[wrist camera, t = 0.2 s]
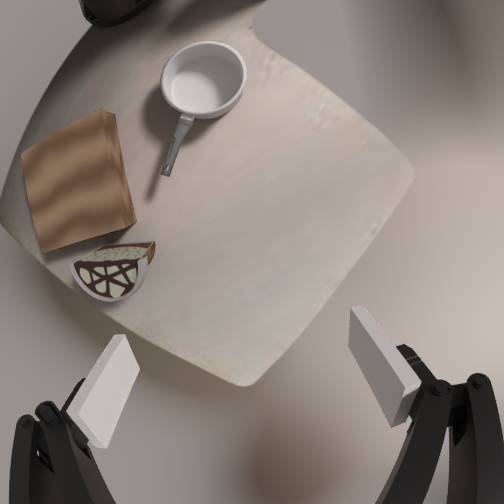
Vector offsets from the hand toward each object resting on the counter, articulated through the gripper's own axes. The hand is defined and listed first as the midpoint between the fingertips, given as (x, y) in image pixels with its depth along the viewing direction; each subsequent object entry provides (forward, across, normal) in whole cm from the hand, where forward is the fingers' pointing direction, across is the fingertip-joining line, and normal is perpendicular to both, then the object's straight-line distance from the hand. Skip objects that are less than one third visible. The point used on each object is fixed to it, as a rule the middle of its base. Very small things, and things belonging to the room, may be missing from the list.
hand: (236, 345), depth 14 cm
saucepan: (+28, -4, +19) cm, 34 cm away
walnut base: (+28, -25, +13) cm, 40 cm away
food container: (+28, -18, -2) cm, 33 cm away
